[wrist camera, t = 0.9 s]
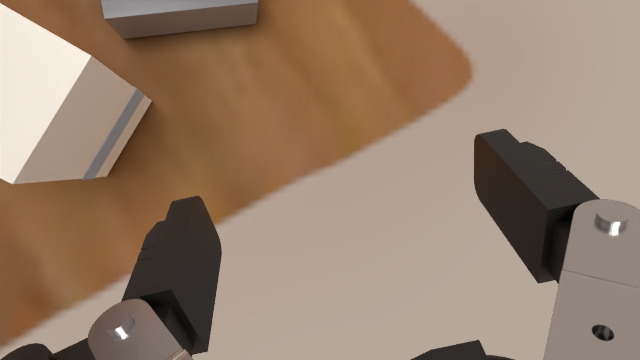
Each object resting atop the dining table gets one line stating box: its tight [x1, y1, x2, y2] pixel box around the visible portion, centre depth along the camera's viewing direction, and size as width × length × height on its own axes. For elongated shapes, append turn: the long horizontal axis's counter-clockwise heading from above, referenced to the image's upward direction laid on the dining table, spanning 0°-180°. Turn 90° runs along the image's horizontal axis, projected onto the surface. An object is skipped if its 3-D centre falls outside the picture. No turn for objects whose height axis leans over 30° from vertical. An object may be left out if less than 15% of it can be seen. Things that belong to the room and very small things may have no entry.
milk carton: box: [0, 3, 152, 184], centre depth 22 cm, size 6×6×12 cm
